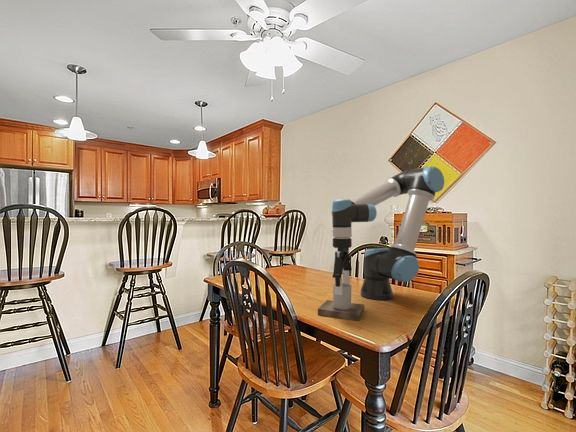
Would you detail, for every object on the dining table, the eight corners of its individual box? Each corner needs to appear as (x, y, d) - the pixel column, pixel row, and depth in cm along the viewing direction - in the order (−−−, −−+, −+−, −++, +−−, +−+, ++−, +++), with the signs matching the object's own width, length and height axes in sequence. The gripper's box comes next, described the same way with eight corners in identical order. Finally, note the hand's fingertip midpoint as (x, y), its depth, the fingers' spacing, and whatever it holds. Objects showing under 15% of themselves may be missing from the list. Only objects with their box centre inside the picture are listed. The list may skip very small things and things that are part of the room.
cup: (333, 310, 117) (334, 287, 117) (331, 302, 127) (331, 281, 127) (352, 310, 117) (352, 287, 117) (348, 303, 127) (349, 281, 127)
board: (364, 310, 125) (364, 304, 125) (358, 321, 113) (358, 314, 113) (326, 305, 131) (326, 299, 131) (317, 315, 119) (317, 308, 119)
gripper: (340, 234, 134) (340, 281, 135) (324, 240, 112) (325, 297, 112) (357, 235, 132) (357, 283, 132) (344, 241, 109) (345, 299, 109)
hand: (342, 289), depth 122 cm, fingers open, 13 cm apart
